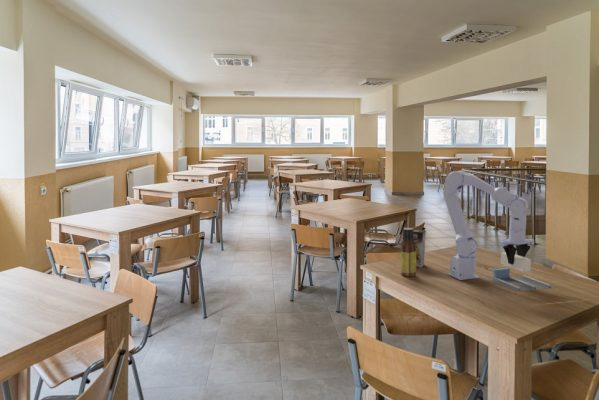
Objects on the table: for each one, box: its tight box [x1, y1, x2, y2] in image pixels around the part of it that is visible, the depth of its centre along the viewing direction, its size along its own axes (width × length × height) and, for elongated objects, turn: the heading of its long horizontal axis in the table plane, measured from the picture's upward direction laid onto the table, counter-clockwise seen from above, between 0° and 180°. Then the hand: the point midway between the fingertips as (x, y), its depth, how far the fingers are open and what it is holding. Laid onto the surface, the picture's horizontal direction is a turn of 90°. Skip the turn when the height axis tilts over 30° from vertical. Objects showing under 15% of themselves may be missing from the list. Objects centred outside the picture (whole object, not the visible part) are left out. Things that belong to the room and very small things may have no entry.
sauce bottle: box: [400, 227, 417, 277], centre depth 189 cm, size 7×6×20 cm
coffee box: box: [402, 228, 427, 268], centre depth 205 cm, size 9×6×16 cm
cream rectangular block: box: [500, 251, 532, 273], centre depth 176 cm, size 4×12×4 cm, turn 15°
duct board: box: [488, 267, 557, 292], centre depth 178 cm, size 18×16×4 cm
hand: (515, 263), depth 176 cm, fingers closed on cream rectangular block, 4 cm apart
